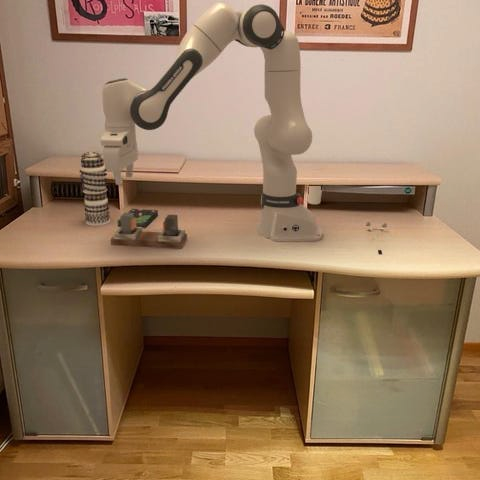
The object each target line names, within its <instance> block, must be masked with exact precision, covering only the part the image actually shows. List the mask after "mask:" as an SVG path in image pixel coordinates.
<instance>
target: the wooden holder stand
mask: <svg viewBox="0 0 480 480" xmlns="http://www.w3.org/2000/svg"><path fill="white" fill-rule="evenodd" d="M178 217H179V216H178V214H167V216H166V217H164V219H165V220H164V221H163V222H162V225H163V229H162V231H161V232H159V231H143V228H142V227H136V228H135V232H134V233H133V234H122V229H121V227H119V228H118V229H117V230H116V231H115V232H114V233H113V235H112V236H111V238H110V245H111V246H112V245H113V246H128V245H135V246H134V247H147V246H148V247H149V248H150V247H152V248H166V247H168V248H169V247H170V248H172V249H183V247H184V246H185V244H186V242H187V240H188V233H186V229H183V228H179V219H178ZM183 245H184V246H183ZM168 248H167V249H168Z"/></svg>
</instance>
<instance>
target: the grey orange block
mask: <svg viewBox="0 0 480 480" xmlns="http://www.w3.org/2000/svg"><path fill="white" fill-rule="evenodd" d="M120 218H121V229H122V234H133V233H134V232H135V228H136V227H137V225H136V218H134V213H128V212H124V213H123V214H121V215H120Z"/></svg>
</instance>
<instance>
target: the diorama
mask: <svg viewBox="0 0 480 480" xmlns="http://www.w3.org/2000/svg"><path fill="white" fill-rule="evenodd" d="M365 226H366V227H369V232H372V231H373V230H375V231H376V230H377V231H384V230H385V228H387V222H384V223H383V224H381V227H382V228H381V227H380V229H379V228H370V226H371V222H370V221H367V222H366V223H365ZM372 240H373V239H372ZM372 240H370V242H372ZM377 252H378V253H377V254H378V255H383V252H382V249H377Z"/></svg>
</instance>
